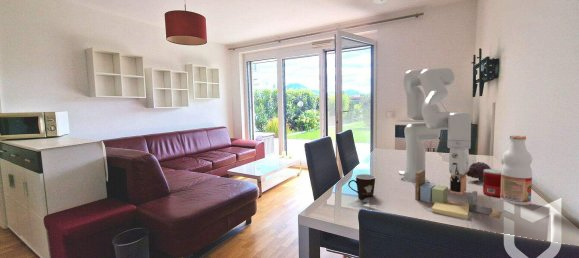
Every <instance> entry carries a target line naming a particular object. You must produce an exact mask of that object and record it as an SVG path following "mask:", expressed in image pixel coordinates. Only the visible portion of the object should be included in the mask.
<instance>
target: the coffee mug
mask: <svg viewBox="0 0 579 258" xmlns="http://www.w3.org/2000/svg"><path fill="white" fill-rule="evenodd" d="M352 182H354V183H355V184H356V189H357V190H356V189H354V188H352V187H351V183H352ZM375 183H376V176H375V175H373V174H370V173H369V174H367V173H362V174H361V173H360V174H356V175H355V180H354V179H351V180H349V181H348V185H347V186H348V188H350V189H351V190H352V191H354V192H356V193H357V197H358V199H359V200H361V201H364V200H365V199H368V198H373V197H374V193H375V192H374V191H375V186H376V185H375Z"/></svg>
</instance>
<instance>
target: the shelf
mask: <svg viewBox="0 0 579 258" xmlns="http://www.w3.org/2000/svg"><path fill="white" fill-rule="evenodd" d="M425 178H426V169H425V170H421V171H419V172H417V173H416V175H415V183H414V184H415V188H414V189H415V191H414V192H415V193H414V196H415V197H414V199H415V200H416V201H419V202H424V203H430V204H432V205H434V204H435V203H432V201H431V202H427V201H422V200H420V186H421V185H423V184H425ZM444 204H449V205H455V206H460V207H466V208H469V203H465V202H459V201H454V200H449V199H447V201H446V202H445V203H444ZM469 212H470V211H469ZM502 213H503V211H502V210H496V209H493V208H492V211H491V213H490V214H489V216H488V215H484V214H479V213H475V212H473V214H477V215H482V216H486V217H491V218H494V219H500V217H501V216H502Z"/></svg>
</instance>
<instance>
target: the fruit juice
mask: <svg viewBox="0 0 579 258" xmlns="http://www.w3.org/2000/svg"><path fill="white" fill-rule="evenodd" d="M509 140H510V142H509V145H508V148H507V150H505V151H504V152H503V153H502V157H501V158H502V163H503V164H502V167H501V169H500V170H501V194H500V197H499V198H500V200H502V201H503V202H506V203H509V204H514V205H521V206H522V205H523V206H526V205H531V204H532V187H533V186H532V185H533V184H532V181H533V170H532V167H531V165H532V162H533V156H532V154H531V153H530V152H529V151H528V149H527V146H526V141H527V136H525V135H510V136H509Z"/></svg>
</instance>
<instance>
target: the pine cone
mask: <svg viewBox="0 0 579 258" xmlns="http://www.w3.org/2000/svg"><path fill="white" fill-rule="evenodd" d="M485 169H492V168H491V167H490V165H488V163H485V162H483V161H482V162H480V161H478V162H473V163H471V164H469V171H468V172H467V173H466V174H465V175H466V177H470V178H473V179H478V180H479V181H482V182H483V171H484V170H485Z"/></svg>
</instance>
